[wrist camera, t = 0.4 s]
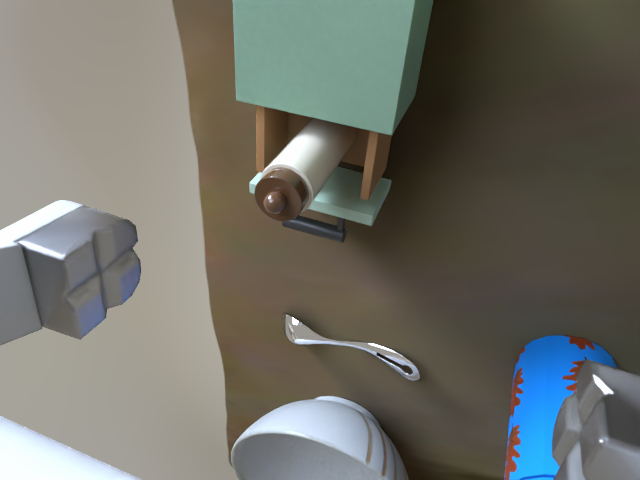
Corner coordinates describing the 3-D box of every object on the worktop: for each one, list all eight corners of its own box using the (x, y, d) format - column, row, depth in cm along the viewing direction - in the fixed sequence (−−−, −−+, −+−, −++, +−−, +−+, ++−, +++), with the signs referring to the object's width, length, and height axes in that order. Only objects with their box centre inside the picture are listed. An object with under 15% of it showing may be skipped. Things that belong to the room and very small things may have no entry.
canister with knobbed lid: (312, 103, 48) (241, 174, 38) (359, 113, 47) (300, 190, 36) (309, 146, 51) (243, 225, 40) (353, 157, 50) (297, 240, 39)
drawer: (383, 224, 55) (365, 262, 50) (277, 195, 58) (250, 228, 53) (414, 56, 44) (395, 83, 39) (280, 31, 47) (246, 53, 41)
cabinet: (414, 96, 47) (392, 136, 40) (277, 68, 50) (236, 100, 43) (451, -94, 37) (429, -83, 31) (281, -114, 41) (228, -108, 34)
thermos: (533, 321, 56) (521, 555, 38) (638, 354, 54) (680, 620, 35) (502, 381, 63) (479, 604, 44) (594, 412, 61) (610, 661, 42)
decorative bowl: (451, 405, 69) (434, 488, 60) (408, 495, 86) (390, 571, 77) (269, 337, 75) (229, 404, 66) (263, 435, 91) (230, 499, 82)
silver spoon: (420, 378, 62) (411, 400, 65) (427, 357, 65) (419, 379, 68) (273, 317, 67) (272, 340, 70) (286, 300, 70) (284, 323, 73)
